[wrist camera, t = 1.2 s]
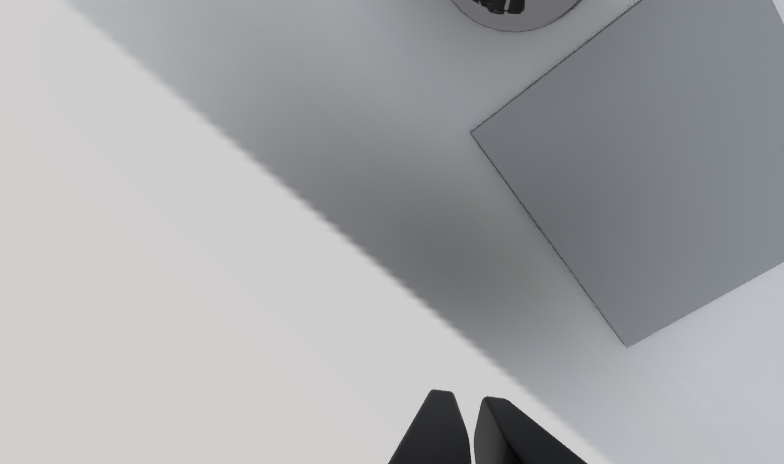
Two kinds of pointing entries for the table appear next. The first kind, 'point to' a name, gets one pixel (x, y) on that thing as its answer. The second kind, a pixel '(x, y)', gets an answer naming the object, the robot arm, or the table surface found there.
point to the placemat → (656, 157)
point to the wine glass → (515, 12)
